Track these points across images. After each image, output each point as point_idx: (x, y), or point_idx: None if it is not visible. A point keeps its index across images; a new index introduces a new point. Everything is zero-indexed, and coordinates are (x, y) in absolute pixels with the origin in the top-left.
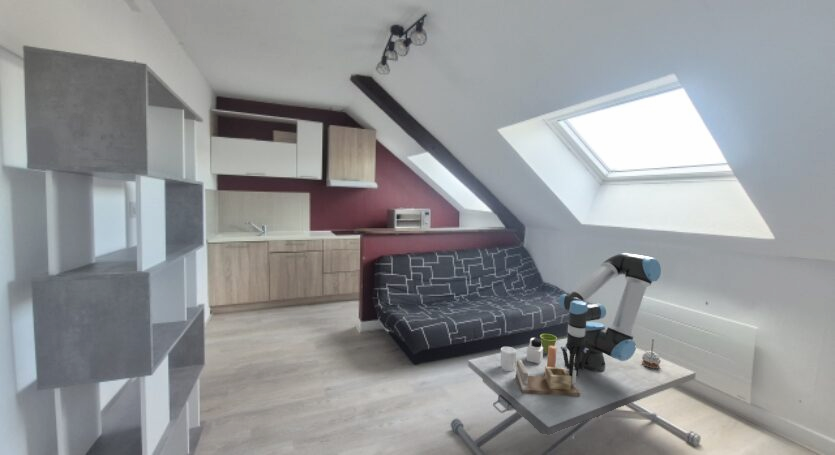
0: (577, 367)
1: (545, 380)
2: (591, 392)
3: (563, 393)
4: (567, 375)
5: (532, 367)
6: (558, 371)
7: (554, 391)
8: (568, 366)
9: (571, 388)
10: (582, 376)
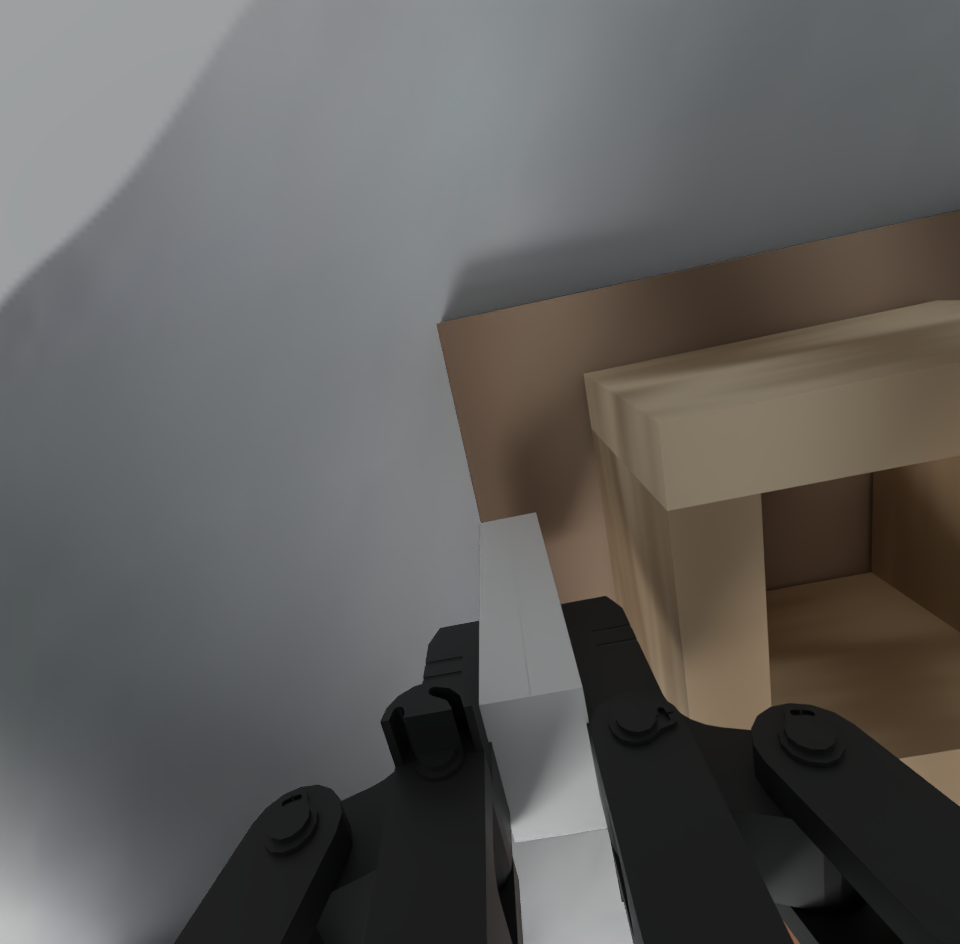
0: (446, 816)
1: None
2: (252, 491)
3: (708, 264)
4: (738, 498)
5: None
6: None
7: (886, 227)
8: (825, 776)
9: (550, 433)
10: None
